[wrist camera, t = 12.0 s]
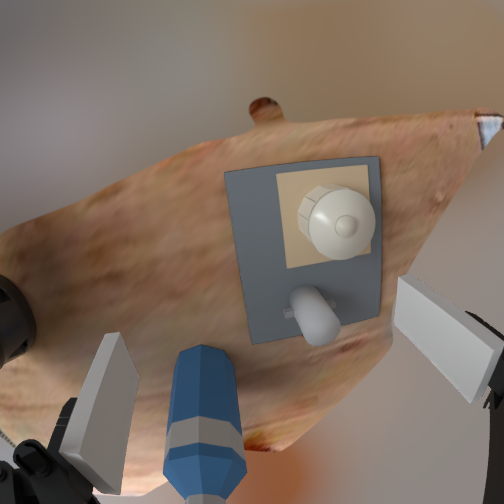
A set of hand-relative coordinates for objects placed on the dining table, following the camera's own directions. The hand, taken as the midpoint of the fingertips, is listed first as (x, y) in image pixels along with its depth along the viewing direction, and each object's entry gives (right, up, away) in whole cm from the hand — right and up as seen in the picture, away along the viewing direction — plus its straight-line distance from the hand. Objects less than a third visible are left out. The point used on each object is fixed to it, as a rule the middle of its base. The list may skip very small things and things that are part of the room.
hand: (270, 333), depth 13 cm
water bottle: (-8, -14, +31) cm, 35 cm away
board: (+7, +3, +27) cm, 28 cm away
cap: (+9, +8, +24) cm, 26 cm away
